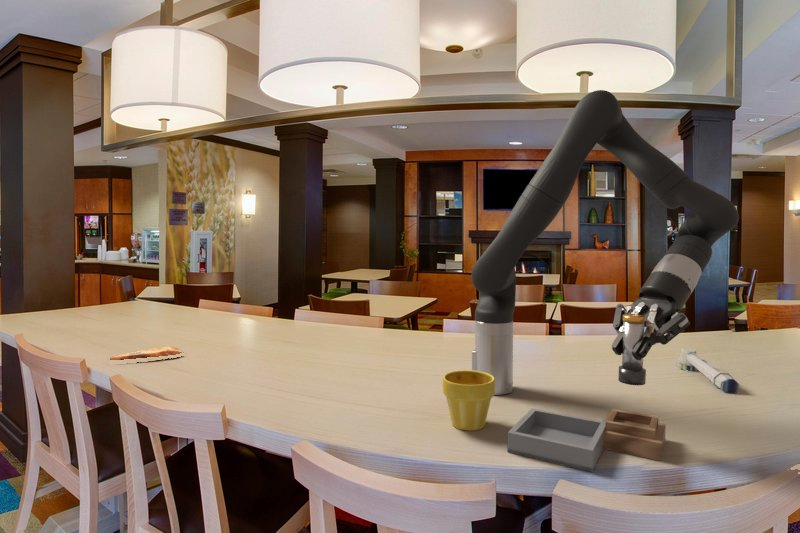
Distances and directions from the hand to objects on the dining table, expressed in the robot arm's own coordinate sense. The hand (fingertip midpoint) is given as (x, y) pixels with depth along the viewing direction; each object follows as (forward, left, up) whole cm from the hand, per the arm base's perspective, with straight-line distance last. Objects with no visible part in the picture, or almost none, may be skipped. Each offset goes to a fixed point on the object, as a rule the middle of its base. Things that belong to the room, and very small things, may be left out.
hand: (625, 354), depth 85 cm
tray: (-10, -6, -17) cm, 20 cm away
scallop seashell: (-138, -8, -17) cm, 139 cm away
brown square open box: (+1, +2, -17) cm, 17 cm away
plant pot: (-28, -5, -17) cm, 33 cm away
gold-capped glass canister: (+1, +2, -5) cm, 6 cm away
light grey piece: (+12, +56, -17) cm, 60 cm away
